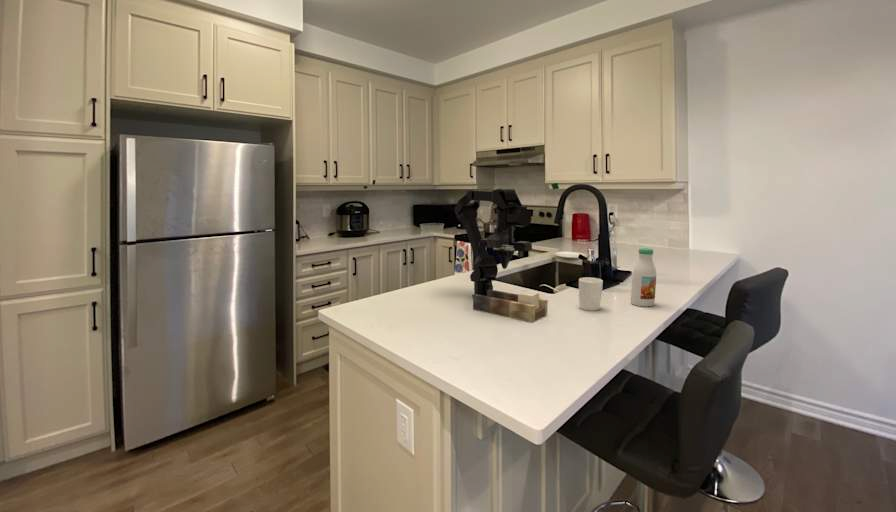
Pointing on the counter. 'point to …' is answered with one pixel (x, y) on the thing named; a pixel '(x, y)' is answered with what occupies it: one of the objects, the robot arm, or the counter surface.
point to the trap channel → (509, 305)
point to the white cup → (590, 293)
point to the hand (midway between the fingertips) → (504, 268)
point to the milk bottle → (644, 279)
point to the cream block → (529, 298)
